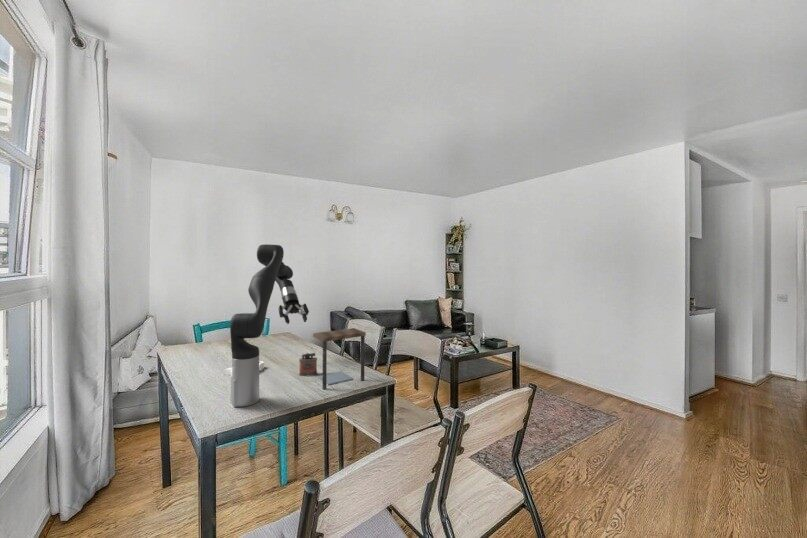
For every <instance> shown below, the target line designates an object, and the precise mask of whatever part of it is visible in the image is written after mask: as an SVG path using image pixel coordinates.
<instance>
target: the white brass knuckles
mask: <svg viewBox="0 0 807 538" xmlns="http://www.w3.org/2000/svg"><path fill="white" fill-rule="evenodd" d="M264 369H265V362H264V361H261V360H259V371H260V372H261V371H262V370H264ZM222 373H223V374H224V375H225V374H226V375H225V376H230V378H231V377H232V366H231V367H229V368H228V367H227V368H225V369H223V372H222Z"/></svg>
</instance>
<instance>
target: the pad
mask: <svg viewBox="0 0 807 538" xmlns="http://www.w3.org/2000/svg"><path fill="white" fill-rule="evenodd" d="M317 378H318V379H319V378H320V379H321V380H320V379H319V380H320V381H322V382H323V374H322V375H321V374H320V375H317ZM348 380H349V381H352V380H354V378H353V377H351V376H350V375H348V374H347V373H345V372H343V371H342V370H341V371H335V372H331V373H327V381H326V385H327V384H328V385H327V386H330V384H331V385H334V383H336V384H339V382H340V383H344V382H348ZM343 381H344V382H343Z"/></svg>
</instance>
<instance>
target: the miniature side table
mask: <svg viewBox="0 0 807 538" xmlns="http://www.w3.org/2000/svg"><path fill="white" fill-rule="evenodd" d="M366 333H367V332H366V331H362V330H360V329H357V328H354V327H353V328H346V329H345V328H343V329H338V330H336V329H335V330H329V331H328V330H327V331H323V332H321V331H320V332H314V333H313V332H312V337H313V339H314V338H315V339H317V340H318V341H320V342H322V375H323V381H322V390H323V389H326V390H327V384H326V381H327V374H328V373H327V367H328V366H327V362H328V361H327V355H328V354H327V350H328V349H327V347H328V346H327V344H328V343H327V342H331V341H339V340H346V339H353V338H358V337H360V382H364V381H365V351H366V350H365V345H366V344H365V341H366V340H365V337H366V335H367V334H366Z"/></svg>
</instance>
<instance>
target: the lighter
mask: <svg viewBox="0 0 807 538" xmlns="http://www.w3.org/2000/svg"><path fill="white" fill-rule="evenodd" d="M298 360H299V361H298V363H299V369H298V370H299V371H298V372H299V373H298V376H299V375H300V376H299V377H307V376H306V375H310V376H316V375H318V370H317V369H318V365H317V361H318V357H316V353H315V352H310V353H309V352H306V353H302V354H301V358H299V359H298ZM315 374H316V375H315Z"/></svg>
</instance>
